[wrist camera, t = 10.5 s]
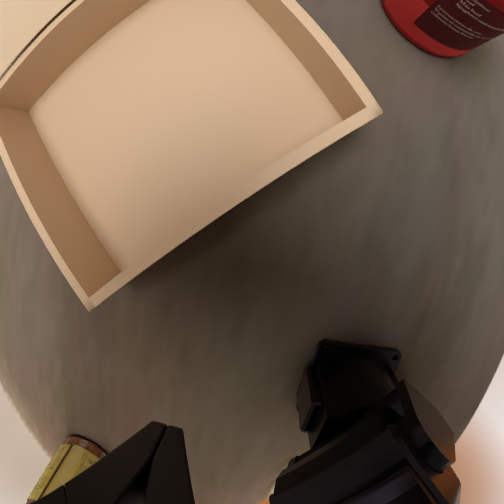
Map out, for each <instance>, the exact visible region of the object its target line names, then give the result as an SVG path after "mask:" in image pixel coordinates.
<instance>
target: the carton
mask: <svg viewBox="0 0 504 504" xmlns="http://www.w3.org/2000/svg"><path fill="white" fill-rule="evenodd" d="M382 113H383V111H382V109H381V108H380V106H379V105H378V103H377V102H376V100H375V99H374V97H373V96H372V94H371V93H370V91H369V90H368V89H367V87H366V86H365V84H364V83H363V81H362V80H361V79H360V77H359V76H358V75H357V73H356V72H355V70H354V69H353V68H352V66H351V65H350V64H349V62H348V61H347V60H346V59H345V57H344V56H343V55H342V53H341V52H340V51H339V50H338V48H337V47H336V46H335V45H334V43H333V42H332V41H331V40H330V39H329V37H328V36H327V35H326V34H325V33H324V32H323V30H322V29H321V28H320V27H319V26H318V25H317V23H316V22H315V21H314V20H313V19H312V18H311V17H310V16H309V15H308V13H307V12H306V11H305V10H304V9H303V8H302V7H301V6H300V5H299V4H298V3H297V2H296V1H295V0H76V1H75V2H74V3H73V4H71V5H70V6H69V7H68V8H67V9H66V10H65V11H64V12H63V13H62V14H60V15H59V16H58V17H57V18H56V19H55V20H54V21H53V22H52V23H51V24H50V25H49V26H48V27H47V28H46V29H45V30H44V31H43V32H42V33H41V34H40V35H39V36H38V37H37V38H36V39H35V40H34V42H33V43H32V44H31V45H30V46H29V47H28V48H27V49H26V50H25V52H24V53H23V54H22V55H21V56H20V57H19V59H18V60H17V61H16V62H15V63H14V65H13V66H12V67H11V68H10V69H9V71H8V72H7V73H6V75H5V76H4V77H3V78H2V80H1V81H0V155H1V157H2V160H3V162H4V164H5V167H6V169H7V171H8V173H9V176H10V178H11V180H12V182H13V184H14V187H15V189H16V191H17V193H18V195H19V197H20V199H21V201H22V203H23V205H24V207H25V209H26V211H27V213H28V215H29V217H30V219H31V220H32V222H33V224H34V226H35V228H36V230H37V231H38V233H39V235H40V237H41V238H42V240H43V242H44V244H45V245H46V247H47V249H48V250H49V252H50V254H51V255H52V257H53V259H54V260H55V262H56V264H57V265H58V267H59V268H60V270H61V271H62V273H63V275H64V276H65V278H66V279H67V281H68V282H69V284H70V285H71V287H72V288H73V290H74V291H75V293H76V294H77V296H78V297H79V298H80V300H81V301H82V303H83V304H84V306H85V307H86V308H87V310H88V311H91V310H92V309H93V308H95V307H96V306H97V305H98V304H100V303H101V302H102V301H104V300H105V299H106V298H108V297H109V296H110V295H111V294H113V293H114V292H115V291H117V290H118V289H119V288H121V287H122V286H123V285H125V284H126V283H127V282H129V281H130V280H131V279H133V278H134V277H135V276H137V275H138V274H139V273H141V272H142V271H144V270H145V269H146V268H148V267H149V266H150V265H152V264H153V263H154V262H156V261H157V260H159V259H160V258H161V257H163V256H164V255H166V254H167V253H168V252H170V251H171V250H172V249H174V248H175V247H177V246H178V245H179V244H181V243H182V242H184V241H185V240H187V239H188V238H189V237H191V236H192V235H194V234H195V233H197V232H198V231H199V230H201V229H202V228H204V227H205V226H207V225H208V224H209V223H211V222H212V221H214V220H215V219H217V218H218V217H220V216H221V215H223V214H224V213H226V212H227V211H228V210H230V209H231V208H233V207H234V206H236V205H237V204H239V203H240V202H242V201H243V200H245V199H246V198H248V197H249V196H251V195H252V194H254V193H255V192H257V191H258V190H260V189H261V188H263V187H264V186H266V185H267V184H269V183H271V182H272V181H274V180H275V179H277V178H278V177H280V176H281V175H283V174H284V173H286V172H287V171H289V170H291V169H292V168H294V167H295V166H297V165H298V164H300V163H302V162H303V161H305V160H306V159H308V158H310V157H311V156H313V155H314V154H316V153H318V152H319V151H321V150H322V149H324V148H326V147H327V146H329V145H330V144H332V143H334V142H335V141H337V140H339V139H340V138H342V137H344V136H345V135H347V134H349V133H350V132H352V131H353V130H355V129H357V128H359V127H360V126H362V125H364V124H365V123H367V122H369V121H370V120H372V119H374V118H375V117H377V116H379V115H381V114H382Z"/></svg>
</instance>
